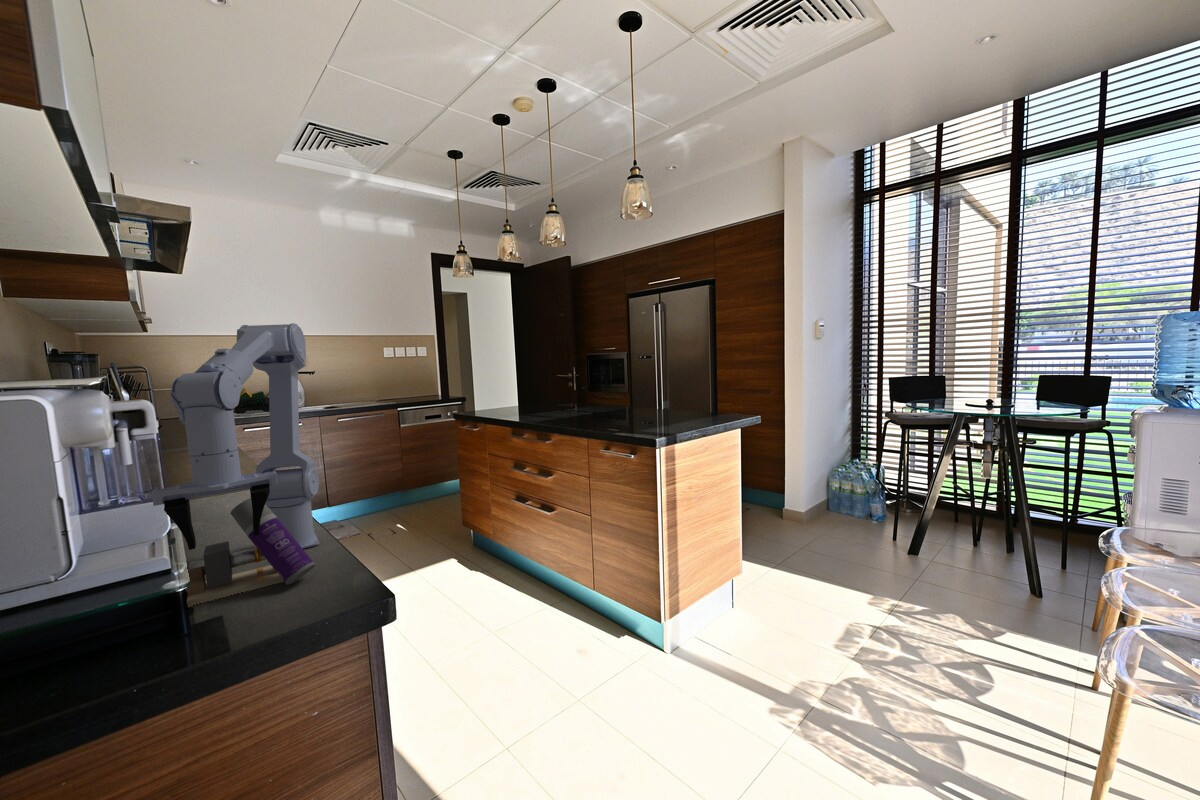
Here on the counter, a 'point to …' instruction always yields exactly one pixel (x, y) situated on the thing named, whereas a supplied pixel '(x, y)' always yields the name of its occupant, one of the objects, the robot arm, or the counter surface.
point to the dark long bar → (235, 559)
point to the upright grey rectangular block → (217, 564)
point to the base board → (228, 584)
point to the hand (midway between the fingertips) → (225, 540)
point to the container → (274, 542)
